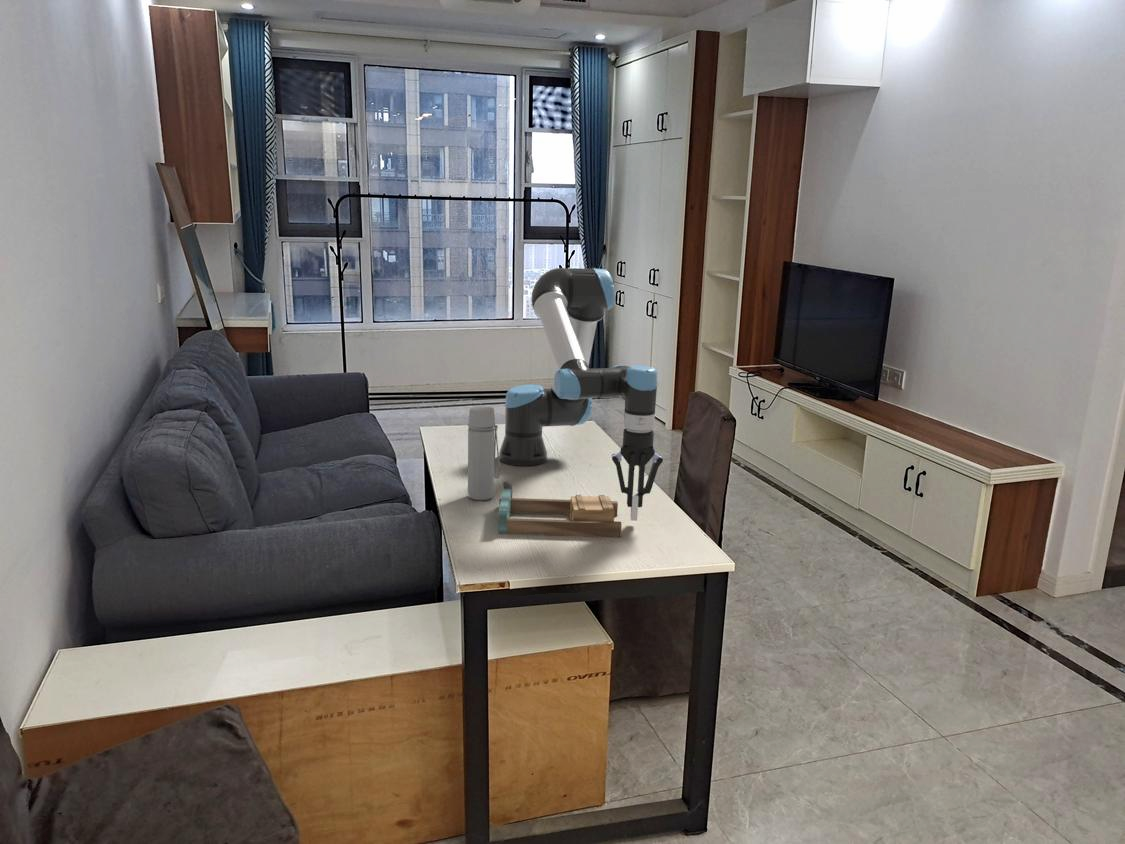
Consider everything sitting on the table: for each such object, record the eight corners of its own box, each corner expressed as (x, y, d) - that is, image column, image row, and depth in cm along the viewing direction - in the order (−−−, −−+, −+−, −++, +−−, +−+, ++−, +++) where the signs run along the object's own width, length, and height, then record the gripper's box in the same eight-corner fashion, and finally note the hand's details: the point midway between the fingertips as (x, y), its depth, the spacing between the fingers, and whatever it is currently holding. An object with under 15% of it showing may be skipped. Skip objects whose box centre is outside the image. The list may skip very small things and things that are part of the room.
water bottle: (473, 503, 223) (474, 413, 217) (463, 494, 230) (463, 406, 224) (505, 499, 227) (506, 410, 221) (493, 490, 234) (494, 403, 228)
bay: (499, 504, 223) (500, 479, 221) (615, 508, 223) (617, 483, 222) (493, 533, 204) (493, 506, 202) (620, 537, 204) (622, 510, 202)
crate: (569, 518, 216) (570, 494, 214) (608, 518, 217) (609, 494, 215) (573, 532, 206) (574, 508, 205) (613, 532, 207) (614, 508, 205)
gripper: (613, 432, 201) (608, 523, 207) (667, 433, 201) (661, 524, 207) (611, 424, 209) (607, 512, 215) (663, 425, 209) (657, 514, 215)
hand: (633, 518), depth 211 cm, fingers closed
